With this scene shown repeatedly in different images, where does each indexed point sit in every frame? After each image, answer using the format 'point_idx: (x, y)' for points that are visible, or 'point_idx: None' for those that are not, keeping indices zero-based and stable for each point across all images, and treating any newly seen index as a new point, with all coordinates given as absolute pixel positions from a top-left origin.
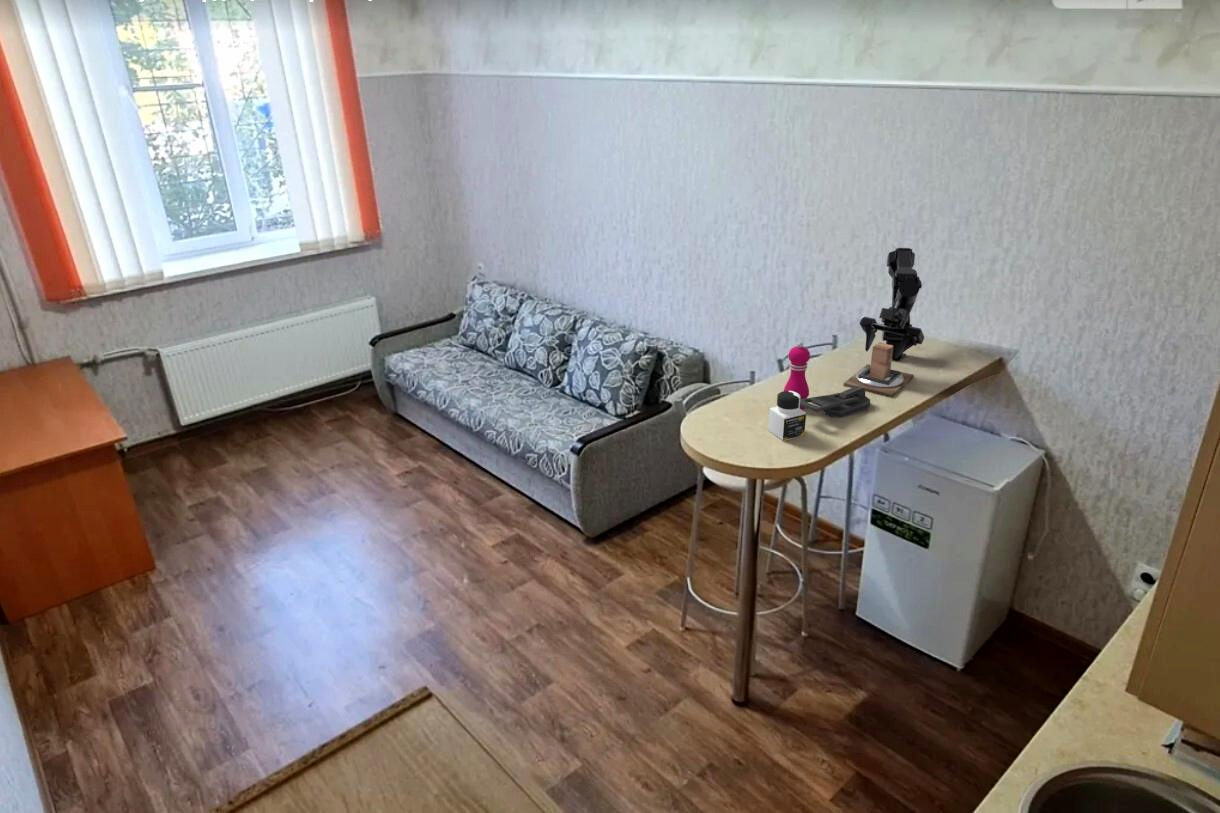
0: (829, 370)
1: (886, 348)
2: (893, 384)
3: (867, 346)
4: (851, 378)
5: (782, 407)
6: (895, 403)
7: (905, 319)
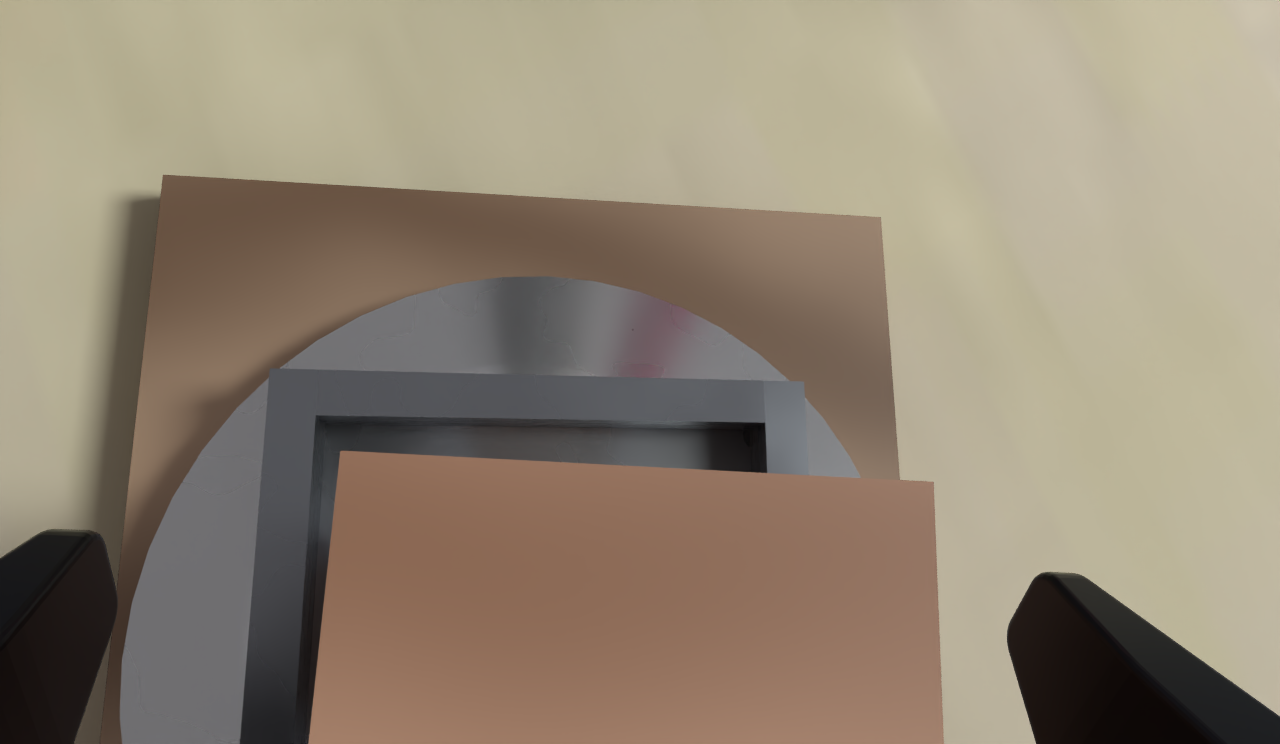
0: (1235, 605)
1: (428, 621)
2: (222, 454)
3: (1124, 642)
4: (872, 411)
5: None
6: (74, 56)
7: None
